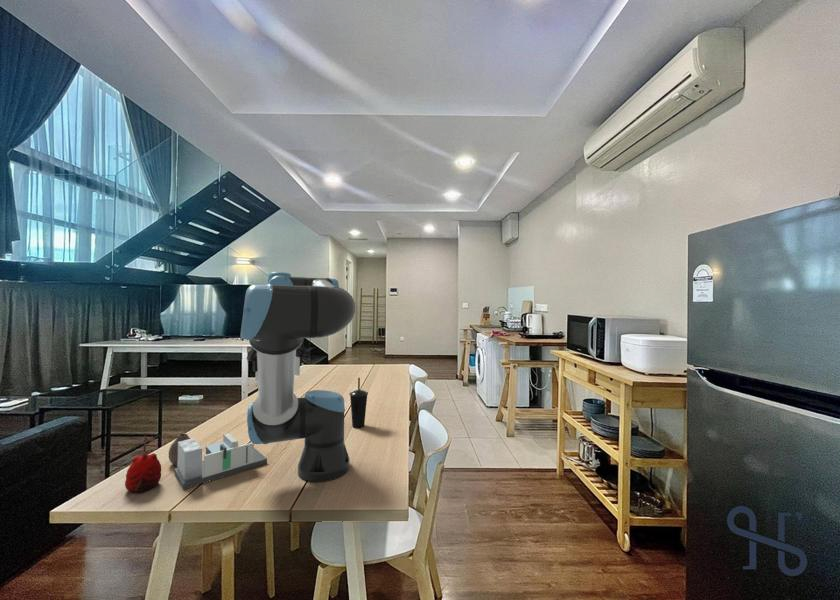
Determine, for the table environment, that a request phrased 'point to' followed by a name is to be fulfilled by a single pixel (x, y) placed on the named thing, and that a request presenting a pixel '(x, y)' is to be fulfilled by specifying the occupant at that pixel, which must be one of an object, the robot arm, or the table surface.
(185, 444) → the white vise jaw block
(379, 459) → the table surface
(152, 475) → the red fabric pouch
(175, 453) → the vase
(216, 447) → the gauge plunger
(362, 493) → the table surface
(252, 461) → the base
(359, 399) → the drinking cup
